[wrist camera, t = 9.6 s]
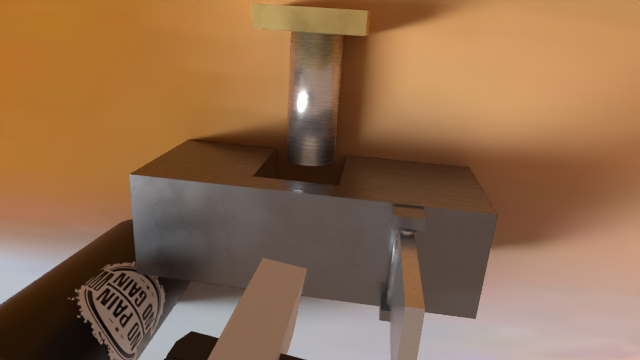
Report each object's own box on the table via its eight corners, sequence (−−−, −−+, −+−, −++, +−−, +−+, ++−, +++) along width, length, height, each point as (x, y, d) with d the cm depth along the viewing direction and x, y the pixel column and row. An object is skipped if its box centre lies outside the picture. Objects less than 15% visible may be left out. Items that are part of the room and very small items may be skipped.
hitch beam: (190, 219, 39) (124, 286, 29) (188, 139, 36) (114, 182, 27) (454, 250, 37) (480, 335, 27) (469, 167, 34) (504, 226, 24)
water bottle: (221, 292, 41) (37, 592, 19) (129, 323, 43) (-123, 620, 22) (165, 193, 38) (-118, 410, 17) (72, 232, 41) (-278, 465, 19)
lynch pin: (275, 7, 32) (251, 3, 27) (370, 12, 32) (367, 10, 26) (271, 148, 36) (250, 171, 30) (357, 156, 35) (352, 181, 30)
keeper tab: (386, 296, 28) (386, 399, 20) (395, 222, 26) (400, 303, 19) (405, 299, 28) (413, 404, 20) (416, 224, 26) (430, 307, 18)
